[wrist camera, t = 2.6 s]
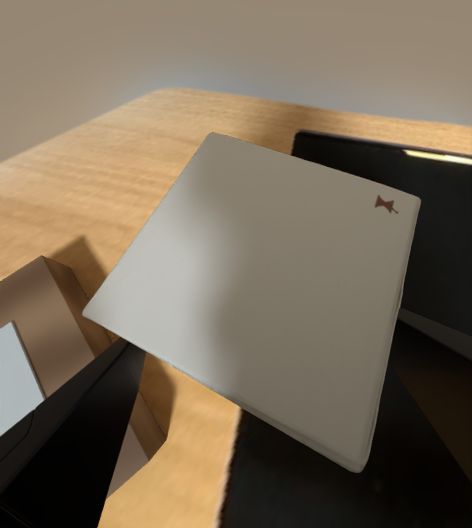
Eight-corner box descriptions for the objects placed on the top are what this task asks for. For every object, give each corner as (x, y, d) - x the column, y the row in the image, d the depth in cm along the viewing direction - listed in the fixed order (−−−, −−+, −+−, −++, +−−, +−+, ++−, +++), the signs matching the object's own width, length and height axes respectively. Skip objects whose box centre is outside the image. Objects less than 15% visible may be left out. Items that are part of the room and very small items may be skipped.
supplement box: (229, 261, 20) (211, 120, 8) (310, 297, 18) (436, 192, 7) (185, 342, 17) (65, 312, 5) (276, 391, 16) (379, 491, 4)
